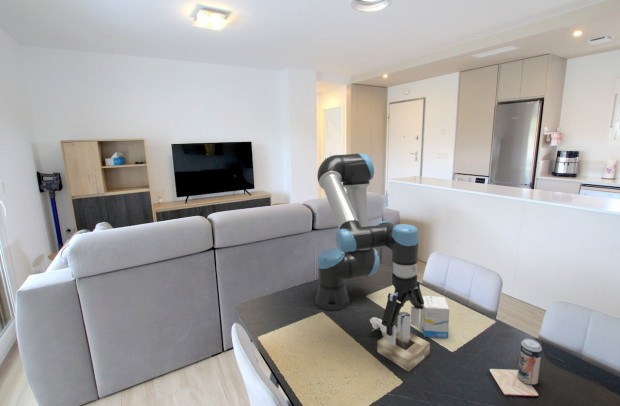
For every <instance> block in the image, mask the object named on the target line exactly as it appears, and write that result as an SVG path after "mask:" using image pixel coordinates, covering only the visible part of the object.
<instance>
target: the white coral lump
mask: <svg viewBox="0 0 620 406" xmlns="http://www.w3.org/2000/svg"><path fill="white" fill-rule="evenodd" d="M369 322H370V323H371V325H372V326H371V327H372V328H373V329H372V330H371V332H374V331H375V330H378V329H379V330H380V331H381V336H382V338H383V337H384V336H386V335H387V333H386V326H384V325H382V324H381V323H382V319H381V318H378V317H371V318H370V319H369Z"/></svg>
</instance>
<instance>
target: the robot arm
mask: <svg viewBox="0 0 620 406" xmlns="http://www.w3.org/2000/svg"><path fill="white" fill-rule="evenodd" d="M316 175H317V177H316V178H317V182H318V185H319V187H320V188H321V189H323V191H324V194H325V196H326V200H327V201H328V204H329V206H330V210H331V212H332V214H333V218H334V220H335V223H336V225H337V228H338V230H337V231H336V233H335V242H336V246H337V248H328V249H326V250H323V251H321V252H320V253H319V254H318V256H317V272H318V273H317V274H318V275H317V276H318V288H317V292H316V294H315V305H316V306H317V305H318V306H317V307H319V308H320V309H323V310H326V311H339V310H343V309H345V308H347V307H348V306H349V304H350V294H349V292H348V289H347V287H346V280H348V279H355V278H361V277H369V276H373V275H375V274H376V273H377V272H378V270H379V267H380V256H379V251H377V249H379V248H385V247H387V248H388V249H390V250H391V253H392V258H391V259H392V260H391V271H392V275H391V283H392V285H393V287H394V293H391V292H390V293H388V294H387V301H386V306H385V309H384V311H383V312H384V313H383V316H382V319H381V320H382V323H381V324H382V325H384V326H386V333H387V342H389V343H391V344H392V345H395V340H396V328H397V326H396V325H395V324H396V321H397V320H398V314H399V312H401V309H402V308H403V307H404V305H405V304H406V303H407V302H408V301H409V302H410V303H411V305H412V306H411V307H410V309H411V310H410V316H411V318H410V325H412V326H414V327H415V328H419V327H420V309H423V306H421V305H423V304H424V300H423V297H422V296H423V294H422V291H421V289H420V288H421V287H420V286H421V283H420V282H418V275H417V274H418V270H419V269H418V259H419V258H418V256H419V241H420V240H419V230H418V228H417V226H416V225H413V224H408V223H399V224H394V223H392V222H389V221H385V220H382V221H380V222H377V223H376V224H375V225H369V212H368V211H369V210H368V209H369V208H368V195H367V188H368V187H369V185H370V181H371V180H372V179H374V177H375V176H374V175H375V168H374V163H373V161H372V158H371V157H370V156H369V155H368V154H366V153H349V154H347V153H346V154H334V155H330V156H328V157H326V158H325V159H324V160H323V161H322V163H320V165H319V167H318V169H317V173H316Z"/></svg>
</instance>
